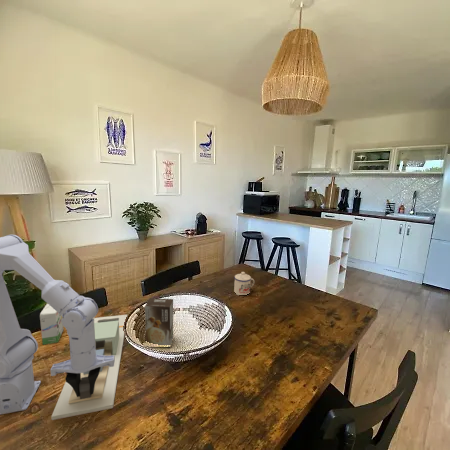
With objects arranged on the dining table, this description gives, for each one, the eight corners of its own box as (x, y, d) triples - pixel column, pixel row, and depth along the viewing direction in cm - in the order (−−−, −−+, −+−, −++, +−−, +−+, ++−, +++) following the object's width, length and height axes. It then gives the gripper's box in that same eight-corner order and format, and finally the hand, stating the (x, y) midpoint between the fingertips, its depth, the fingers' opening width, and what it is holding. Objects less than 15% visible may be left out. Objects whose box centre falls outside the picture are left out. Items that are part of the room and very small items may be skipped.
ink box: (58, 342, 92) (55, 312, 90) (41, 345, 90) (39, 314, 88) (64, 329, 100) (62, 301, 98) (49, 331, 98) (46, 303, 96)
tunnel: (116, 357, 85) (115, 336, 84) (79, 363, 82) (77, 341, 81) (119, 339, 95) (118, 320, 93) (86, 343, 92) (85, 324, 90)
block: (101, 371, 77) (101, 359, 76) (83, 374, 75) (82, 362, 75) (104, 360, 81) (104, 348, 81) (87, 362, 80) (86, 351, 79)
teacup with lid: (238, 297, 133) (240, 276, 131) (230, 290, 141) (231, 270, 139) (258, 293, 138) (259, 273, 136) (249, 287, 146) (250, 267, 144)
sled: (102, 397, 69) (101, 381, 68) (68, 403, 66) (67, 386, 65) (113, 343, 91) (113, 330, 90) (88, 346, 88) (87, 333, 88)
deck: (112, 407, 67) (112, 404, 67) (51, 420, 63) (51, 416, 63) (127, 316, 110) (127, 314, 110) (91, 320, 106) (91, 318, 106)
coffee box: (174, 337, 97) (174, 298, 95) (170, 348, 91) (170, 307, 88) (150, 336, 97) (149, 297, 95) (144, 347, 91) (144, 306, 88)
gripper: (115, 334, 71) (117, 376, 74) (55, 341, 67) (59, 386, 70) (111, 350, 65) (113, 396, 67) (45, 359, 60) (50, 408, 63)
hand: (85, 392), depth 68 cm, fingers closed on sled, 2 cm apart
